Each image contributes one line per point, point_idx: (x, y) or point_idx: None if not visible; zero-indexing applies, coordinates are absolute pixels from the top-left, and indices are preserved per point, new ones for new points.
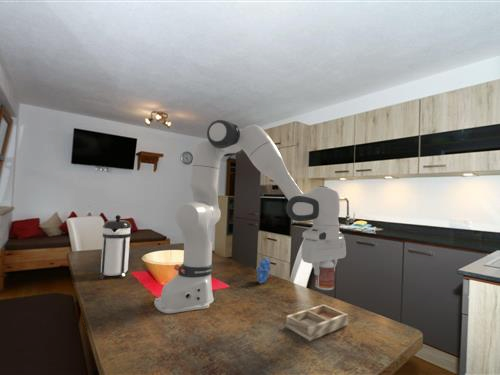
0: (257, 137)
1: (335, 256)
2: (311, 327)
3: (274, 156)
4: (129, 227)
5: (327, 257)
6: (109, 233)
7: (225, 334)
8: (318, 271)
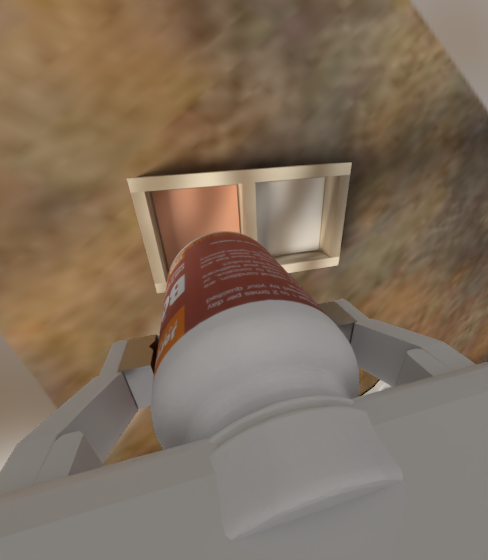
0: None
1: (75, 543)
2: (342, 167)
3: None
4: None
5: (385, 451)
6: None
7: (435, 276)
8: (362, 313)
